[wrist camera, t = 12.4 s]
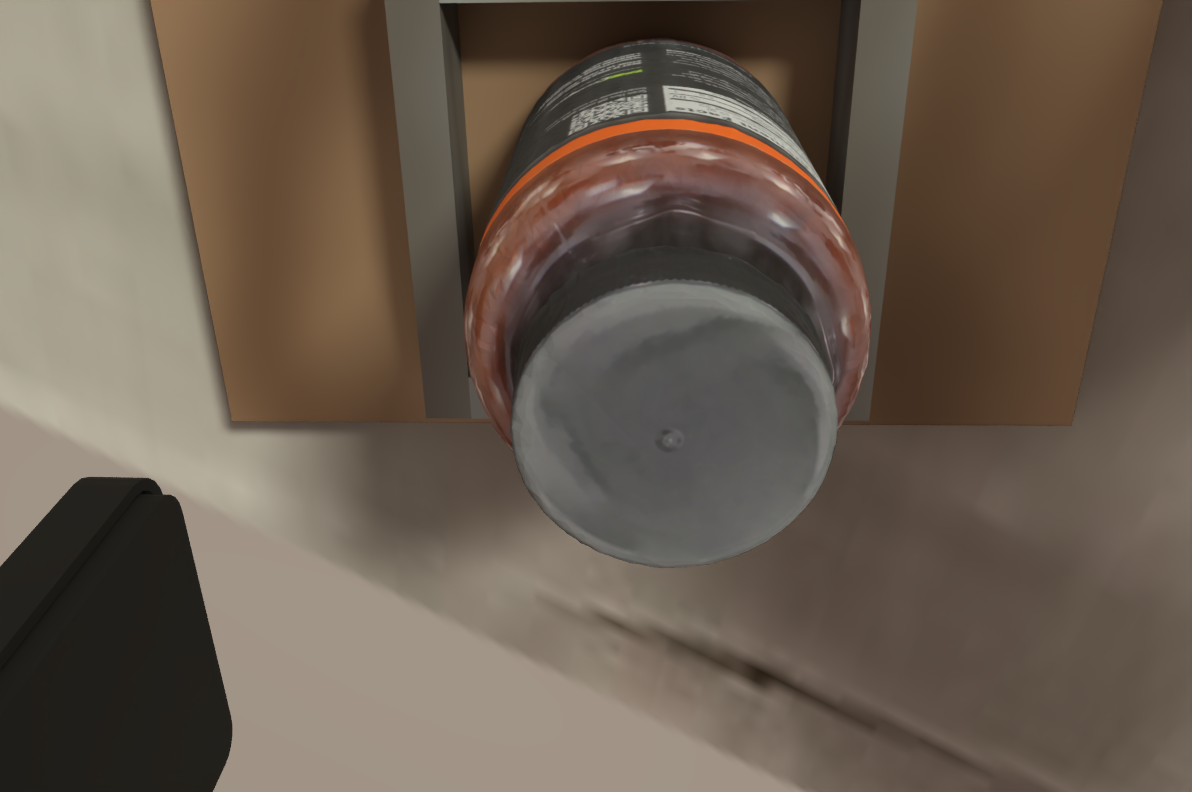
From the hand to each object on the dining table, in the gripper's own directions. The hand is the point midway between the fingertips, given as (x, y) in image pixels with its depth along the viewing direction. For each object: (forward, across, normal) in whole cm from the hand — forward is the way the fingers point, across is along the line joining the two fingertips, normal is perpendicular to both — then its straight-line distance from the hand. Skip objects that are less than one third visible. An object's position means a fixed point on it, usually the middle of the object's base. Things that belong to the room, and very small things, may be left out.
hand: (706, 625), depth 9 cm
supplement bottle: (+15, +1, 0) cm, 15 cm away
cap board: (+16, +1, 0) cm, 16 cm away
